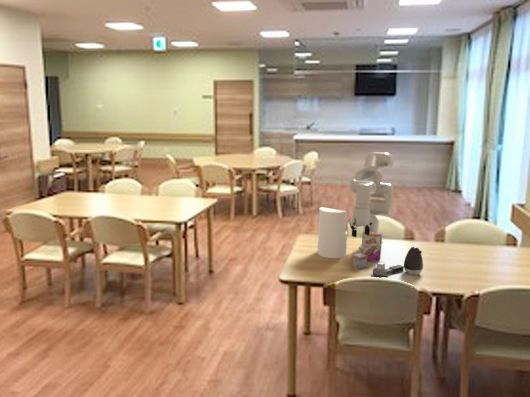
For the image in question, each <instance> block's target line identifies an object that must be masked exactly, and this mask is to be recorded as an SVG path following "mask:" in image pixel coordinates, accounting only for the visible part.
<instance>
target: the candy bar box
mask: <svg viewBox="0 0 530 397" xmlns="http://www.w3.org/2000/svg"><path fill="white" fill-rule="evenodd" d="M382 242H383V232H378V233H377V232H369V235H367V234H365V231H364V232H363V231H362V238H361V244H362V249H361V252H360V253H362V254H364V255H367V261H372V262H381V257H382V246H383V245H382V244H383V243H382Z"/></svg>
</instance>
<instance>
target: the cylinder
mask: <svg viewBox="0 0 530 397" xmlns="http://www.w3.org/2000/svg"><path fill="white" fill-rule="evenodd" d="M318 210H319V211H318V230H317V231H318V234H317V237H318V238H317V240H318V241H317V254H318V255H319V256H320V257H323V258H327V259H340V258H341V259H342V258H344V257H346V256H347V247H348V246H347V242H348V231H347V213H348V211H347V210H343V209H342V210H341V209H335V208H330V207H324V206H321V207H319V209H318Z"/></svg>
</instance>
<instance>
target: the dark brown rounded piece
mask: <svg viewBox="0 0 530 397" xmlns="http://www.w3.org/2000/svg"><path fill="white" fill-rule="evenodd" d="M422 253H423V251H422V250H420V248H419V247H417V246H412V247H410V248H409V250H407V253H406V256H405V258H404V261H403V266H404V271H405V272H406V274H408V275H411V276H417V275H420V274H421V273H422V271H423V269H424V260H423V254H422Z"/></svg>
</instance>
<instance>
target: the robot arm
mask: <svg viewBox="0 0 530 397" xmlns="http://www.w3.org/2000/svg"><path fill="white" fill-rule="evenodd" d="M394 161H395V158H394V155H393V154H391V153H389V152H381V151H371V152H369V153H367V154H366V155H365V157H364V165H363V167H362V168H361V169H359V170H358V171H356V172H355V173H354V174H353V175H352V179H351V180H350V184H349V185H350V187H349V189H350V191H351V193H353V194H355V206H354V208H353V210H352V217H351V220H350V221H349V222H348V225H349V227H350V229H351V237H353V238H357V234H358V230H357V229H358V227H362V233H363V232H364V231H365V234H367V235H369V232H377V233H379V226H380V222H379V219H378V217H377V216H382V217H388V216H390V215H391V214H392V209H393V201H394V200H393V198H394V187H393V184H392V183H388V182H383V173H382V171H381V168H382V169H392V167H393V165H394ZM379 168H380V169H379ZM367 179H368V180H367ZM372 198H377V199H372ZM379 198H380V199H379ZM381 198H382V199H381ZM383 242H384V241H382V244H383ZM358 246H359V249H361V250H362V243H361V244H359V245H358Z"/></svg>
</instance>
